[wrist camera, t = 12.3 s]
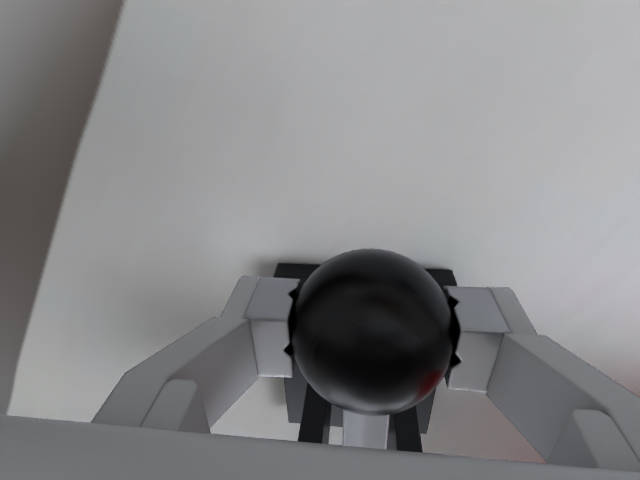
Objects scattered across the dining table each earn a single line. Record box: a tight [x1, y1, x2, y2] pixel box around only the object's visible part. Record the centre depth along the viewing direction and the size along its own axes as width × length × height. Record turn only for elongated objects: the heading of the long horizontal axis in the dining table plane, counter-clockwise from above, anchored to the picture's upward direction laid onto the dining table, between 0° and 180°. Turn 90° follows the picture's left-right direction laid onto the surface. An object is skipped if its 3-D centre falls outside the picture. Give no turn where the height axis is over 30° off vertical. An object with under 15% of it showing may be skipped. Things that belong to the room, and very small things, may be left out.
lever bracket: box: [274, 263, 457, 453], centre depth 17 cm, size 12×9×13 cm
